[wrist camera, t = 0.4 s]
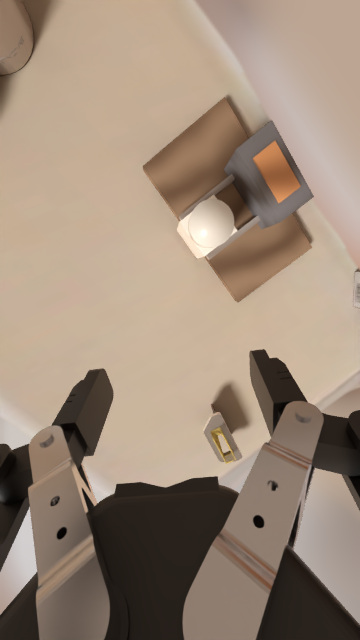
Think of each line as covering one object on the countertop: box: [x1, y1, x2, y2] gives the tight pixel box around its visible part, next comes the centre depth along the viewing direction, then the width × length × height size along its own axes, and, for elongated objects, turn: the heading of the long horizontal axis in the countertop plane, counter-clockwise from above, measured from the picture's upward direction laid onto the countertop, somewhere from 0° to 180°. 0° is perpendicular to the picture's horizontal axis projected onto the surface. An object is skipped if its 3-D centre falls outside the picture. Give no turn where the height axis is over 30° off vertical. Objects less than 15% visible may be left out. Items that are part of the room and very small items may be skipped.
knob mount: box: [143, 97, 314, 302], centre depth 32 cm, size 24×14×8 cm, turn 37°
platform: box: [203, 404, 242, 464], centre depth 42 cm, size 12×18×7 cm, turn 26°
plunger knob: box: [177, 195, 237, 258], centre depth 31 cm, size 5×5×9 cm
